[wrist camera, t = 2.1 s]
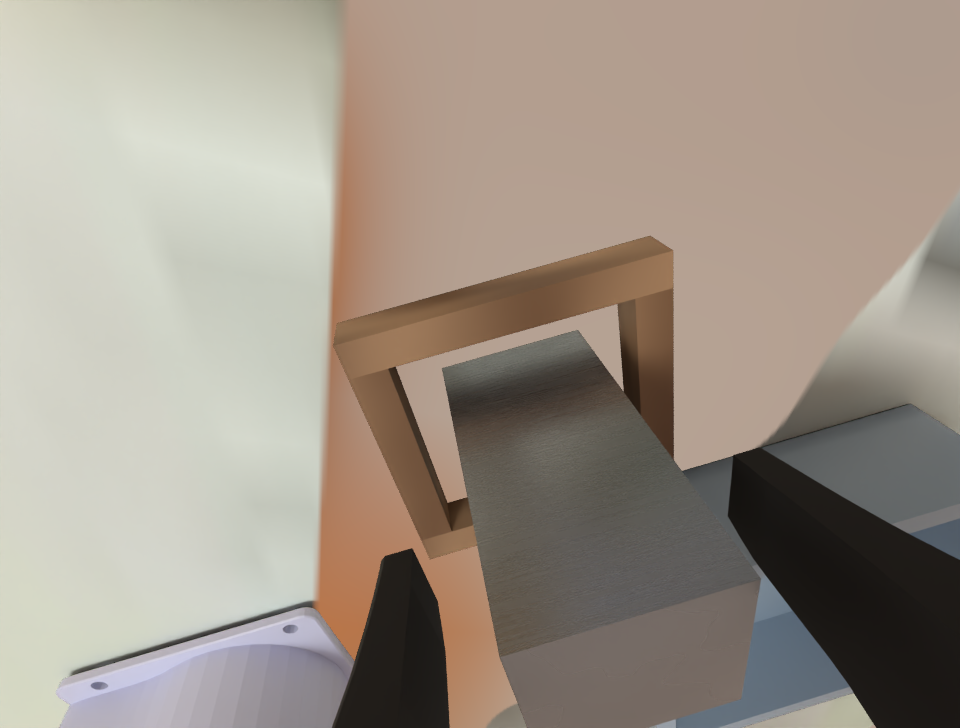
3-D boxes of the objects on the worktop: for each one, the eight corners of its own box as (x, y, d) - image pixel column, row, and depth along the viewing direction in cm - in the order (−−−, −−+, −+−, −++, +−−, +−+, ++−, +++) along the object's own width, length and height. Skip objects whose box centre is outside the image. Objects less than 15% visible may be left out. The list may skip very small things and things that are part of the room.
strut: (473, 467, 16) (540, 760, 9) (442, 368, 14) (500, 657, 7) (590, 433, 16) (741, 698, 9) (577, 329, 14) (761, 579, 7)
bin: (619, 657, 24) (657, 753, 21) (598, 495, 18) (650, 596, 14) (848, 588, 25) (922, 671, 21) (910, 403, 18) (1032, 481, 15)
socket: (427, 530, 17) (429, 559, 16) (337, 323, 13) (333, 346, 12) (656, 462, 17) (673, 487, 16) (649, 235, 13) (673, 250, 12)
